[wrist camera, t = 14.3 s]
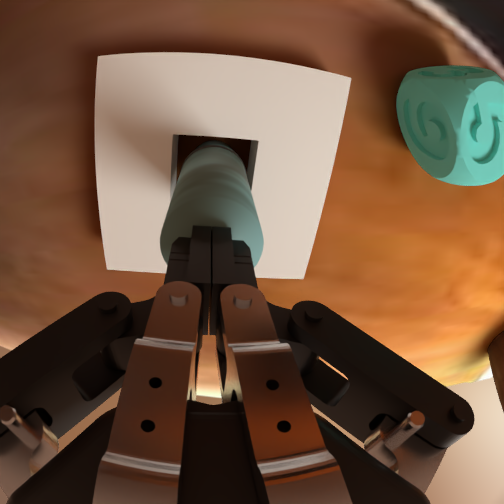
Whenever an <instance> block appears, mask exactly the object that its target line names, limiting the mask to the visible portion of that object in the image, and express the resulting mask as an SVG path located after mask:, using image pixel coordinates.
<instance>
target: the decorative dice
mask: <svg viewBox="0 0 504 504" xmlns="http://www.w3.org/2000/svg"><path fill="white" fill-rule="evenodd" d="M396 108H397V116H398V121H399V125H400V128H401V132H402V134H403V137H404V140H405V142H406V144H407V146H408V148H409V150H410V152H411V153H412V155H413V157H414V158H415V160H416V161H417V162H418V164H419V165H420V166H421V167H422V168H423V169H424V170H425V171H426V172H427V173H428V174H430V175H431V176H433V177H434V178H436V179H438V180H441V181H444V182H447V183H451V184H456V185H464V186H477V185H484V184H488V183H491V182H494V181H496V180H497V179H499V178H500V177H501V176H502V175H503V174H504V82H503V80H502V79H501V78H500V77H499V76H498V75H497V74H496V73H495V72H494V71H491V70H488V69H484V68H479V67H472V66H454V65H451V66H433V67H425V68H419V69H415V70H412V71H409V72H408V73H407V74H406V75H405V77H404V78H403V80H402V82H401V85H400V87H399V90H398V94H397V100H396Z"/></svg>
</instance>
